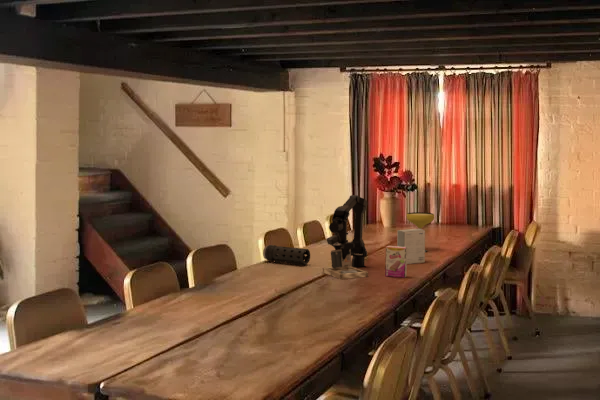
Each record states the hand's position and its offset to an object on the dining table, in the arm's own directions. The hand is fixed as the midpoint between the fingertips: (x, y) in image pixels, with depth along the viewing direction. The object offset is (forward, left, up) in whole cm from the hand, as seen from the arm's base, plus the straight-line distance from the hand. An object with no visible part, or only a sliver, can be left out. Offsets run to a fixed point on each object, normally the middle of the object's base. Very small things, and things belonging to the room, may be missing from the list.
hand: (341, 258), depth 413 cm
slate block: (0, +10, -9) cm, 13 cm away
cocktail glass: (-87, -49, -8) cm, 100 cm away
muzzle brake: (+15, -40, -9) cm, 43 cm away
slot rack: (0, +5, -8) cm, 9 cm away
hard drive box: (-56, -14, -8) cm, 58 cm away
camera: (0, +1, -5) cm, 5 cm away
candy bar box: (-23, +20, -8) cm, 32 cm away
